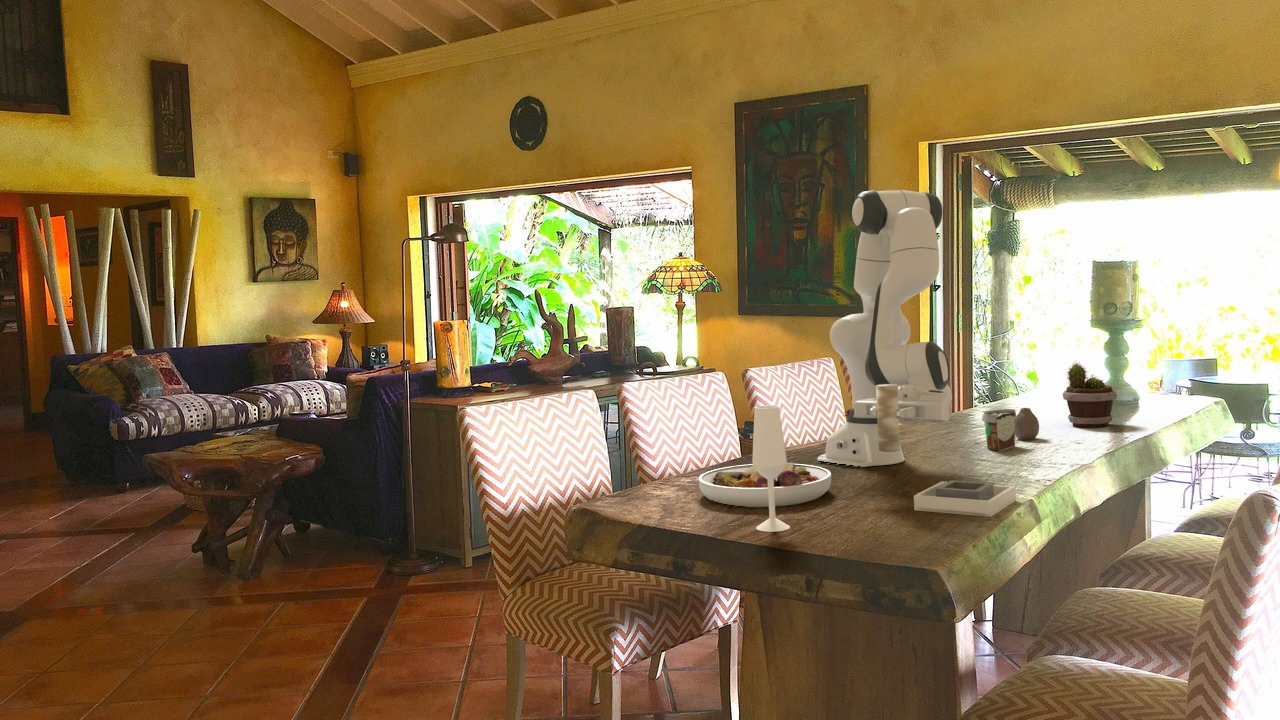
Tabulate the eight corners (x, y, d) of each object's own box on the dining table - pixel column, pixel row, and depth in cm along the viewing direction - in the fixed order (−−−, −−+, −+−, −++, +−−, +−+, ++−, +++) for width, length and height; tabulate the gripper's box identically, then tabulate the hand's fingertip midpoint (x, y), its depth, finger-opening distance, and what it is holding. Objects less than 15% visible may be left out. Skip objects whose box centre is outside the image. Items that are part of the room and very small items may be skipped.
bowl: (678, 494, 236) (676, 461, 235) (789, 478, 247) (787, 447, 246) (737, 517, 208) (735, 480, 207) (858, 498, 219) (856, 463, 218)
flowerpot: (1110, 421, 303) (1108, 356, 302) (1122, 428, 288) (1120, 360, 287) (1059, 422, 307) (1057, 358, 305) (1069, 430, 292) (1066, 362, 290)
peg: (875, 451, 214) (872, 386, 213) (883, 447, 217) (881, 384, 216) (895, 452, 211) (892, 386, 210) (903, 448, 215) (900, 384, 214)
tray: (914, 510, 204) (913, 490, 203) (942, 495, 216) (941, 476, 216) (991, 516, 194) (990, 496, 194) (1015, 500, 206) (1015, 481, 206)
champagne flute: (751, 525, 199) (744, 406, 197) (782, 522, 200) (776, 403, 199) (762, 533, 192) (756, 410, 191) (795, 529, 194) (789, 407, 192)
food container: (995, 444, 276) (994, 408, 275) (1017, 445, 271) (1016, 409, 271) (974, 450, 267) (973, 413, 266) (996, 452, 263) (995, 415, 262)
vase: (1041, 440, 277) (1040, 409, 276) (1015, 441, 278) (1014, 410, 278) (1037, 436, 284) (1036, 406, 283) (1011, 437, 285) (1010, 407, 284)
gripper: (868, 390, 230) (841, 397, 219) (955, 392, 217) (931, 400, 207) (869, 417, 230) (842, 426, 220) (956, 420, 218) (932, 430, 207)
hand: (886, 413), depth 213 cm, fingers closed on peg, 4 cm apart
